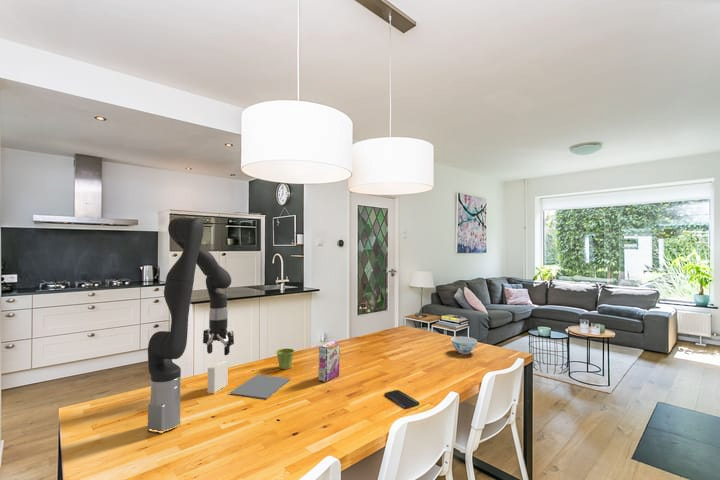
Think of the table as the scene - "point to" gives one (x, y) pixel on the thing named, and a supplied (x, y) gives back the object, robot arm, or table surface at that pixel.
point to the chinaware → (464, 344)
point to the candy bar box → (329, 361)
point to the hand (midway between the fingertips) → (218, 354)
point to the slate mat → (260, 386)
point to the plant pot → (285, 358)
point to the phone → (401, 399)
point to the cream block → (217, 376)
